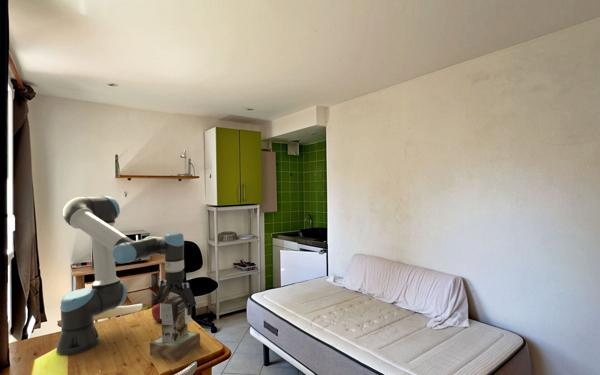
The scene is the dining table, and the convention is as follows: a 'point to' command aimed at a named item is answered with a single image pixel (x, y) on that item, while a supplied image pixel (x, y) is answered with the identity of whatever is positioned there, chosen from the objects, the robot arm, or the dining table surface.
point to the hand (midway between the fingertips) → (175, 320)
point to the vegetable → (156, 313)
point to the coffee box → (173, 320)
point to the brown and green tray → (175, 347)
